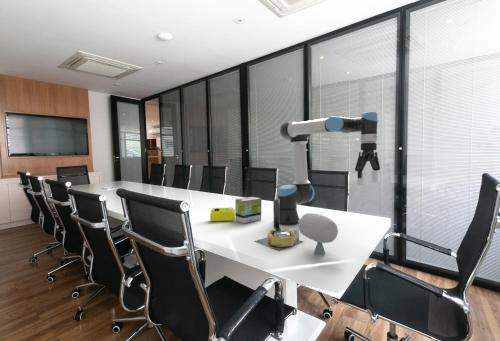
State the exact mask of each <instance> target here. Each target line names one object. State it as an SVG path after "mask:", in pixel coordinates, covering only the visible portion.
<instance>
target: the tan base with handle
mask: <svg viewBox="0 0 500 341" xmlns="http://www.w3.org/2000/svg"><path fill="white" fill-rule="evenodd" d="M272 200H273V206H272V207H273V208H272V209H273V211H272V212H273V229H270V230H269V232H268V233H267V237H268V242H269V243H270V244H271V245H273V246H278V247H288V246H292V247H294V246H293V245H294V244H295V243H296V234H295V233H294V231H293V230H290V229H289V228H284V229H282V228H281V227H280V224H279V199H278V198H277V199H275V198H274V199H272ZM277 231H286V232H289V233H290V237H279V235H274V233H275V232H277Z"/></svg>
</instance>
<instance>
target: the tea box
mask: <svg viewBox="0 0 500 341" xmlns="http://www.w3.org/2000/svg"><path fill="white" fill-rule="evenodd" d="M234 202H235V206H234V207H235V208H234V209H235V220H234V221H236V222H237V223H242V224H247V223H251V222H256V221H261V220H262V198H261V197H256V196H249V197H241V198H235V201H234Z"/></svg>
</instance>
